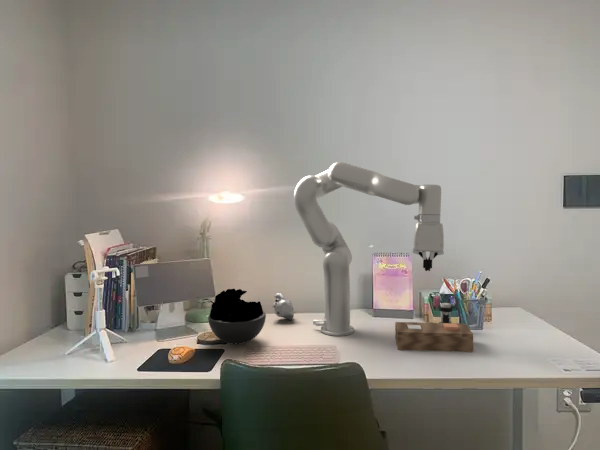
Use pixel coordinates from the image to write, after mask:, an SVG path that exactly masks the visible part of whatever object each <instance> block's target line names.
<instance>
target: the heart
mask: <svg viewBox="0 0 600 450" xmlns="http://www.w3.org/2000/svg"><path fill="white" fill-rule="evenodd" d="M273 297H274V298H275V300H274V301H275V302H273V303H272V305H271V307H272V308H273V311H274V314H275V315H276V316H277V317H279V318H283V319H286V320H290V321H292V320H293V319H294V316H295V310H294V306H293V303H292V300H290V299H288V297H286V296H284V295H283V293H281V292H280V293H275V295H274V296H273Z"/></svg>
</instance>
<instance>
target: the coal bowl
mask: <svg viewBox="0 0 600 450" xmlns="http://www.w3.org/2000/svg"><path fill="white" fill-rule="evenodd" d="M247 292H248V291H247V290H242V289H241V288H238V289H235V288H228V289H226V290H222V291H221V292H220V293H217V294H216V295H215V296H214V302H213V303H211V304H210V305H211V307H210V312H209V315H208V317H207V321H208V325H209V326H210V330H211V331H212V333H213V334H214V336H215V337H217V338H218V339H219V340H221V341H222V342H224V343H226V344H230V345H242V344H243V345H244V344H246V343H249V342H250V341H252V340H254V339H255V338H256V337H257V336H258V335H259V334H260V333H261V332H262V330H263V328H264V325H265V322H266V317H267V314H266V312H265V311H264V310H263V309H264V308H263V305H262V303H261V301H245V300H244V299H241V298H242V295H245V294H246V293H247Z"/></svg>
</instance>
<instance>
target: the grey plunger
mask: <svg viewBox="0 0 600 450" xmlns="http://www.w3.org/2000/svg"><path fill="white" fill-rule="evenodd" d="M407 329H419V330H422V328H421V326H420V325H407Z"/></svg>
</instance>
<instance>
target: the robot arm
mask: <svg viewBox="0 0 600 450" xmlns="http://www.w3.org/2000/svg"><path fill="white" fill-rule="evenodd" d="M342 187H344V188H346V189H350V190H353V191H356V192H359V193H362V194H365V195H369V196H375V197H378V198H382V199H385V200H388V201H393V202H395V203H398V204H401V205H404V206H410V205H414V204H415V205H416V204H417V205H418V214H416V215H414V217H413V219H414V220H416V221H417V222H415V223H416V224H415V227H414V228H415V229H414V235H413V248H412V254H414V255H418V256H420V257H421V258H422V260H423V263H422V268H423V269H424V271H425V272H427V271H428V272H431V269H433V260H434V259H435V258H436V257H437V256H442V255H444V254H445V253H444V247H445V242H444V241H445V240H444V237H445V236H444V225H443V223H441V211H442V210H441V207H442V187H441V186H440V184H422V185H421V184H420V185H419V184H413V183H411V182H410V183H409V182H406V181H403V180H400V179H396V178H393V177H389V176H387V175H383V174H381V173H379V172H376V171H374V170H371V169H367V168H363V167H360V166H357V165H353V164H350V163H347V162H342V161H336V162H334V163H332V164H331V165H330V167H329V168H328V169H326V170H325V171H324V170H323V172H320V173H318V174H316V175H307V176H304V177H303V178H301V179H300V180H299V182H298V183H297V184H296V187H295V189H294V192H293V204H294V207H295V209H296V212H297V214H298V216H299V217H300V219H301V221H302V223H303V226H304V228H305V229H306V232H308V235H309V237H310V239H311V240H312V243H313V244H314V245H315V246H316V247H318V248H321V249H322V251H323V252H324V253H323V254H324V256H323V260H322V269H323V284H324V285H323V289H324V290H323V291H324V318H322V319H313V320H312V323H313V324H312V325H314V326H315V327H319V326H320V332H321V333H322V334H324V335H328V336H338V337H340V336H348V335H352V334H353V333H354V332H355V327H354V326H352V325H351V290H350V289H351V287H350V285H351V283H350V265H351V263H352V259H353V255H352V251H351V249H350V247H349V246H348V244H347V242H346V240H345V239H344V237H343V236H342V233H341V232H340V230H339V228H338V227H337V225H336V224H335V223H334V222H331V221H329V220H328V218H327V217H326V215H325V214H324V212H323V209H322V207H321V206H320V205H319V203H318V200H317V199H318V198H322V197H323V196H326V195H328V194H330V193H332V192H334V191H336V190H339V189H340V188H342ZM427 252H428V253H429V257H427Z"/></svg>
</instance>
